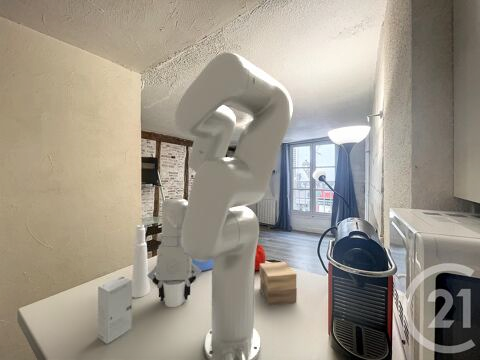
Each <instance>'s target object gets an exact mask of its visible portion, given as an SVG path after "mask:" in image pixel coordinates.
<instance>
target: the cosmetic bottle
mask: <svg viewBox="0 0 480 360" xmlns="http://www.w3.org/2000/svg"><path fill="white" fill-rule="evenodd" d="M133 245H134V246H133V257H132V259H133V260H132V279H131V280H132V298H134V299H135V298H136V299H138V298H142V297H145V296H147V295H148V294H150V292H151V291H152V290H151V286H150V285H151V284H150V278H149V277H148V276H147V275H148V273H149V265H148V264H149V263H148V247H147V246H148V244H147V242H146V228H145V224H138V225H136V228H135V243H134V244H133Z"/></svg>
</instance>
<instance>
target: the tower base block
mask: <svg viewBox="0 0 480 360" xmlns="http://www.w3.org/2000/svg"><path fill="white" fill-rule="evenodd" d="M259 278H260V277H259ZM259 280H260V281H259V282H260V287H259V289H260V291H261V293H262V295H263V297H264V299H265V301H266V304H267V305H268V306H269V305H281V304H290V303H297V298H298V297H297V293H298V292H297V290H298V288H297V287H296V289H288V290H278V291H267V289H266V287H265V285H264V284H263V282H262V280H261V278H260V279H259Z"/></svg>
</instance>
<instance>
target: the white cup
mask: <svg viewBox="0 0 480 360" xmlns="http://www.w3.org/2000/svg"><path fill="white" fill-rule="evenodd" d="M163 286H164V296H165V298H164V305H166V307H168V308H177V307H179V306H181V305H182V304H183V303H185V301H186V300H185V286H186V283H185V281H184V280H170V281H164V282H163Z"/></svg>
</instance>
